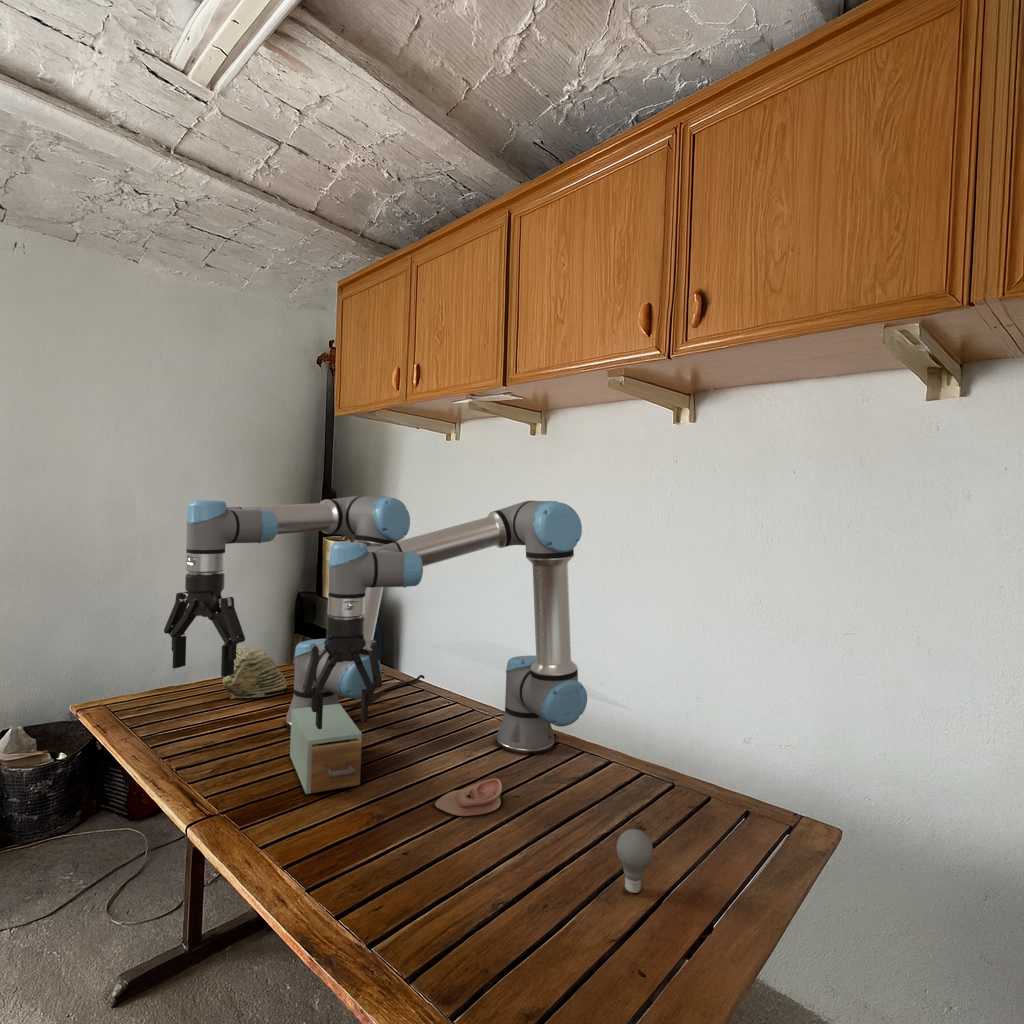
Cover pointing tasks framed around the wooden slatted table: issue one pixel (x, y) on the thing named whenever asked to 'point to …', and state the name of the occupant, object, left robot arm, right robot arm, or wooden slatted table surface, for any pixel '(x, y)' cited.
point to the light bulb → (634, 857)
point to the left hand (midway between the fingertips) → (202, 671)
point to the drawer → (335, 765)
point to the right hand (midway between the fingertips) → (341, 723)
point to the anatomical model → (472, 799)
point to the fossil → (254, 675)
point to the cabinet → (317, 735)
